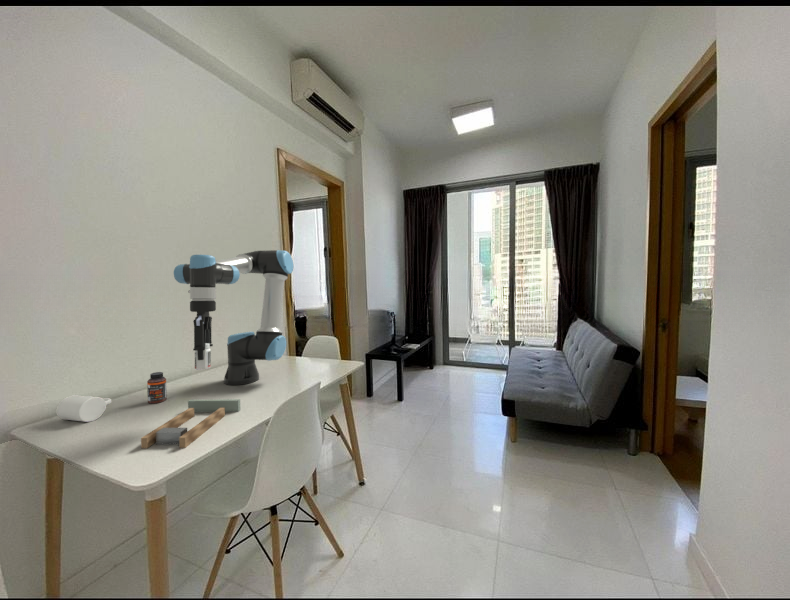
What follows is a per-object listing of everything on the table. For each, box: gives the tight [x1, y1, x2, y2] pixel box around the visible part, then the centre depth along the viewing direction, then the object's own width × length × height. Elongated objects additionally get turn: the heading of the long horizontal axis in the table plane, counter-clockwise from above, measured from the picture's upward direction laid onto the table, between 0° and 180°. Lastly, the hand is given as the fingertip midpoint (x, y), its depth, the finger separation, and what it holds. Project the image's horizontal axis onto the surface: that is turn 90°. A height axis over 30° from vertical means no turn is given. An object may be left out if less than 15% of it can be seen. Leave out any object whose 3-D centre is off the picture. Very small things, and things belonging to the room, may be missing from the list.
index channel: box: [140, 408, 226, 449], centre depth 96 cm, size 21×12×3 cm, turn 2°
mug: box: [55, 394, 113, 423], centre depth 106 cm, size 12×10×8 cm
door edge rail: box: [187, 398, 241, 413], centre depth 111 cm, size 2×18×4 cm, turn 92°
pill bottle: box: [194, 343, 212, 370], centre depth 105 cm, size 5×5×8 cm
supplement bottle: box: [146, 371, 168, 405], centre depth 120 cm, size 6×6×11 cm
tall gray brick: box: [155, 427, 188, 445], centre depth 89 cm, size 3×7×4 cm, turn 92°
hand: (203, 367), depth 105 cm, fingers closed on pill bottle, 5 cm apart
